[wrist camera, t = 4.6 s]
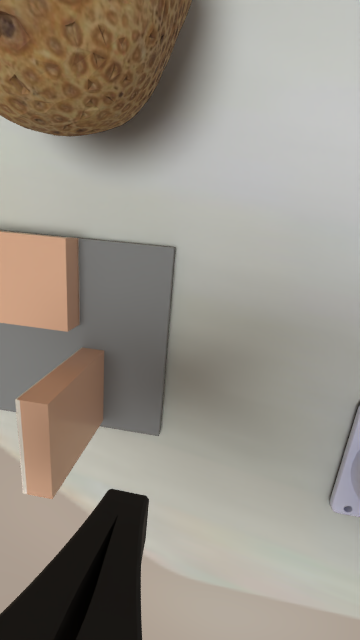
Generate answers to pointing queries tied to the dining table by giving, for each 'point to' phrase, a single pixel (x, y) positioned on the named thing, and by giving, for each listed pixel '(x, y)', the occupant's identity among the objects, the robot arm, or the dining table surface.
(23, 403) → the tile
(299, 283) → the dining table surface
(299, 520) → the dining table surface
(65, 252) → the tile
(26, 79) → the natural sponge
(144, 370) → the mat
